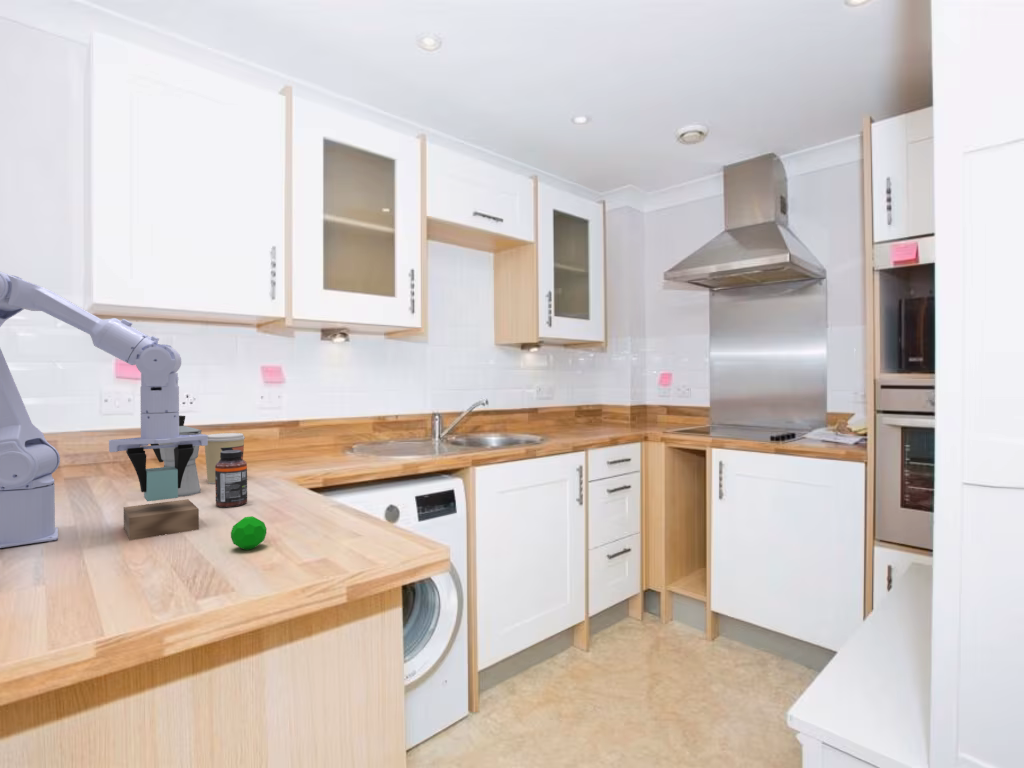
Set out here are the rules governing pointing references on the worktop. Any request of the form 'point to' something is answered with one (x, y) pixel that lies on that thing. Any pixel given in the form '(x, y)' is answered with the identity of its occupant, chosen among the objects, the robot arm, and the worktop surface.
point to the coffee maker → (190, 474)
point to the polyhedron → (248, 533)
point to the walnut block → (160, 519)
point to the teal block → (161, 483)
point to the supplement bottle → (231, 479)
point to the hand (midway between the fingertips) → (160, 489)
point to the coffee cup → (221, 444)
